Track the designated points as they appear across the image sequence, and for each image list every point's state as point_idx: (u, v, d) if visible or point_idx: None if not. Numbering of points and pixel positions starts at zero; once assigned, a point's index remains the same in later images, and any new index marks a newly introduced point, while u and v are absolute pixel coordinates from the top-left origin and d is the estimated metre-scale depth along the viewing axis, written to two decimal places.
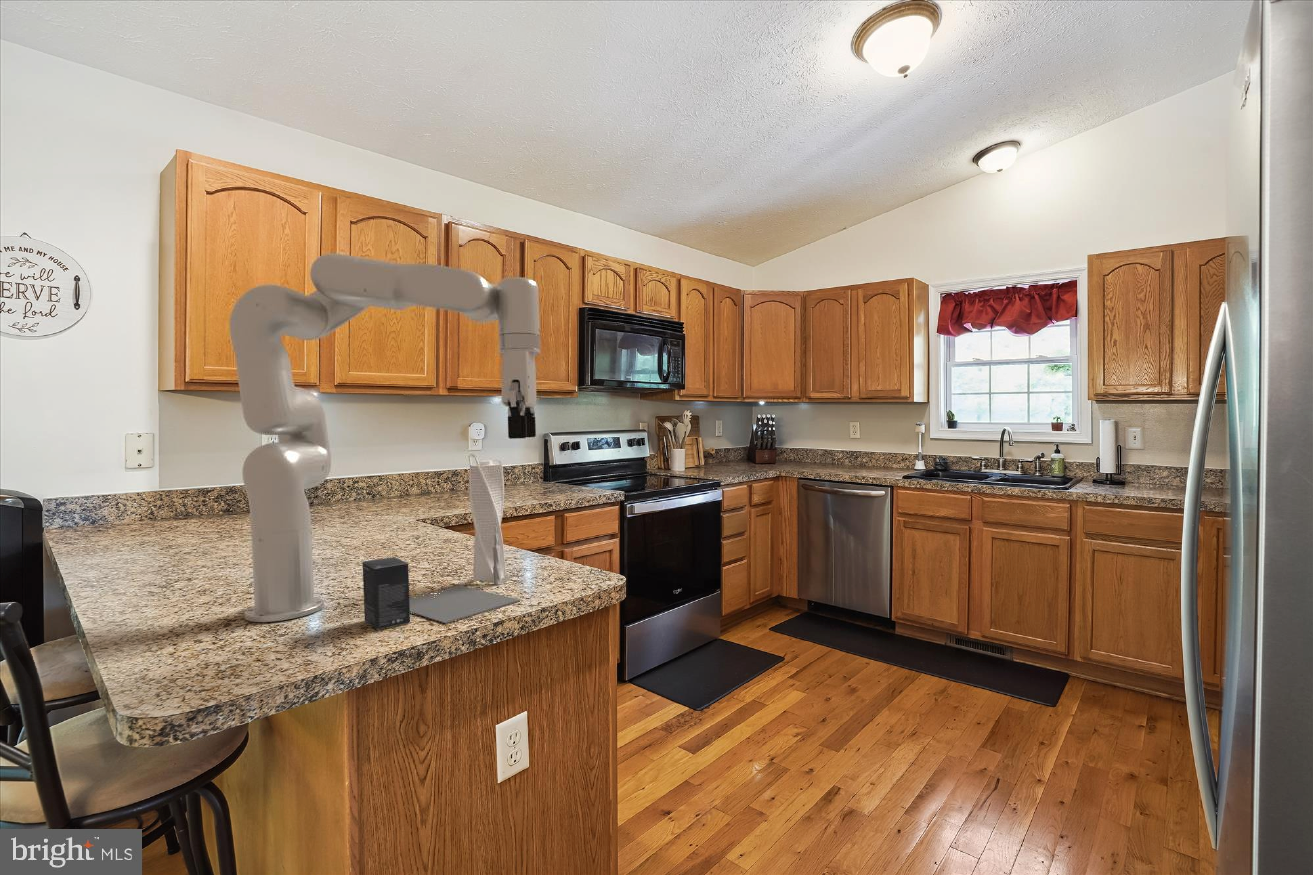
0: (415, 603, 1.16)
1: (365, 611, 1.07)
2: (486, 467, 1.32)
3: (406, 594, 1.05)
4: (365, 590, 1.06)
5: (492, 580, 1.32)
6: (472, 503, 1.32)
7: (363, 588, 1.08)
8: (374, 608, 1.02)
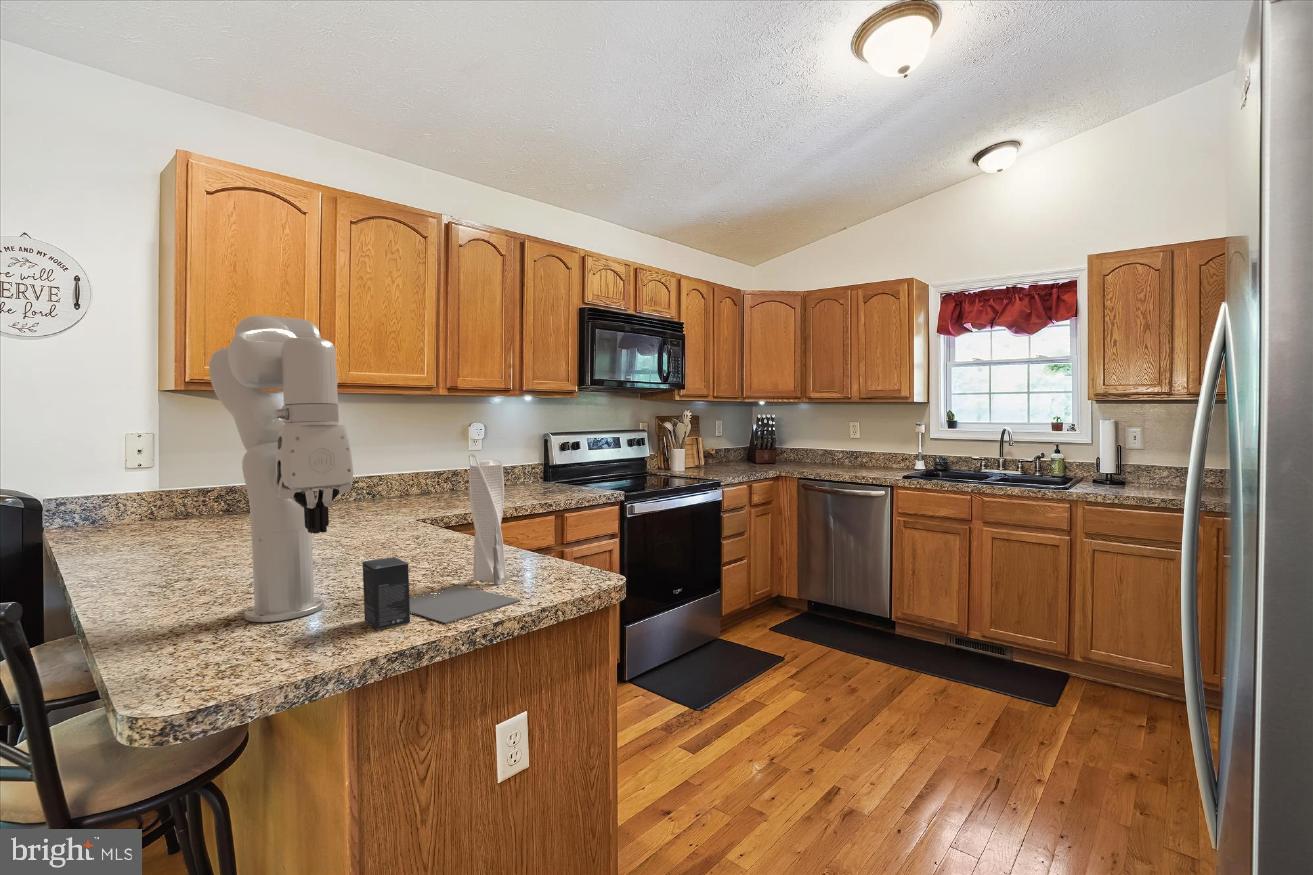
0: (415, 603, 1.16)
1: (365, 611, 1.07)
2: (486, 467, 1.32)
3: (406, 594, 1.05)
4: (365, 590, 1.06)
5: (492, 580, 1.32)
6: (472, 503, 1.32)
7: (363, 587, 1.08)
8: (374, 608, 1.02)
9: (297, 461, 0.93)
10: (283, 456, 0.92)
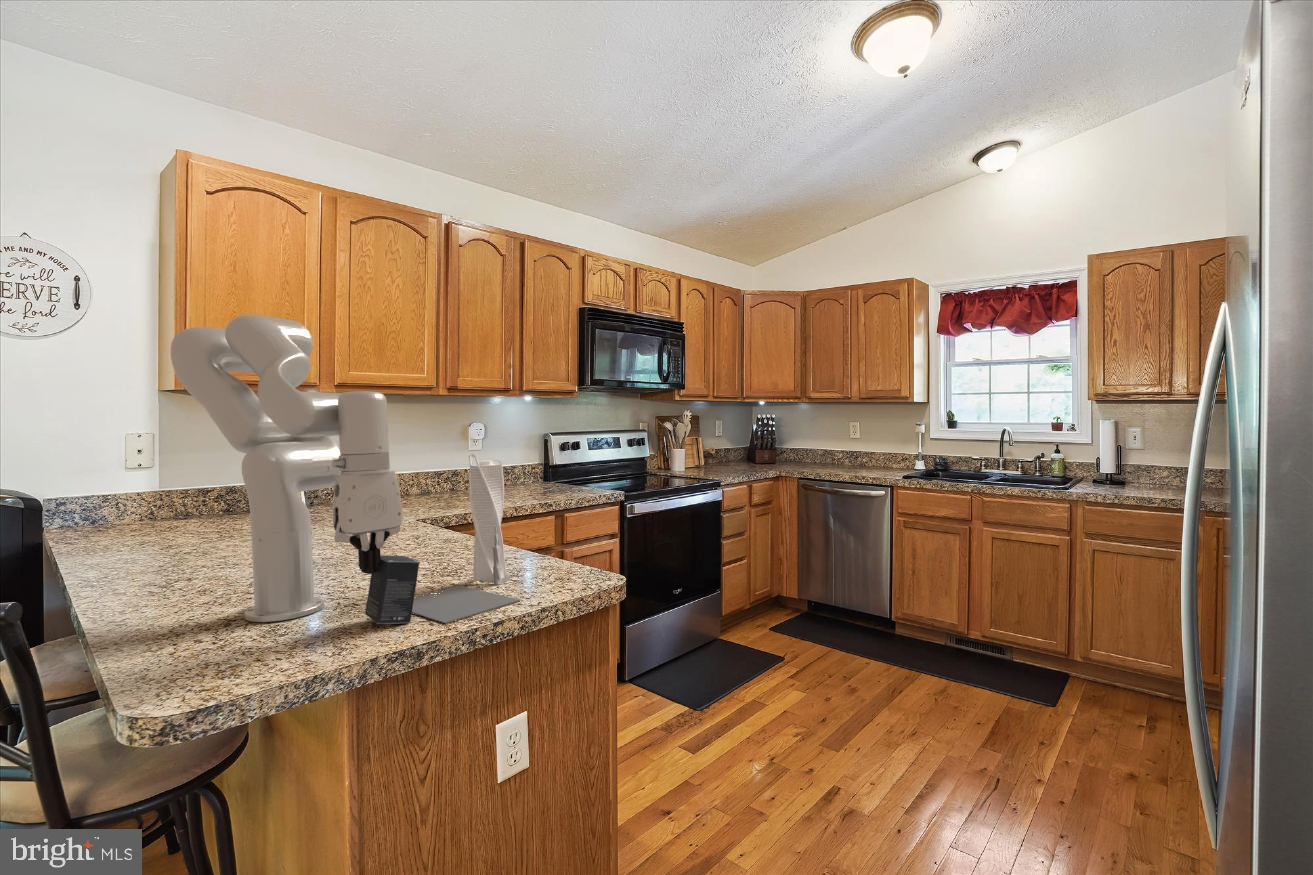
0: (415, 603, 1.16)
1: (367, 605, 1.07)
2: (486, 467, 1.32)
3: (412, 593, 1.05)
4: (372, 583, 1.07)
5: (492, 580, 1.32)
6: (472, 503, 1.32)
7: (370, 582, 1.08)
8: (378, 601, 1.03)
9: (354, 508, 1.00)
10: (341, 504, 0.99)
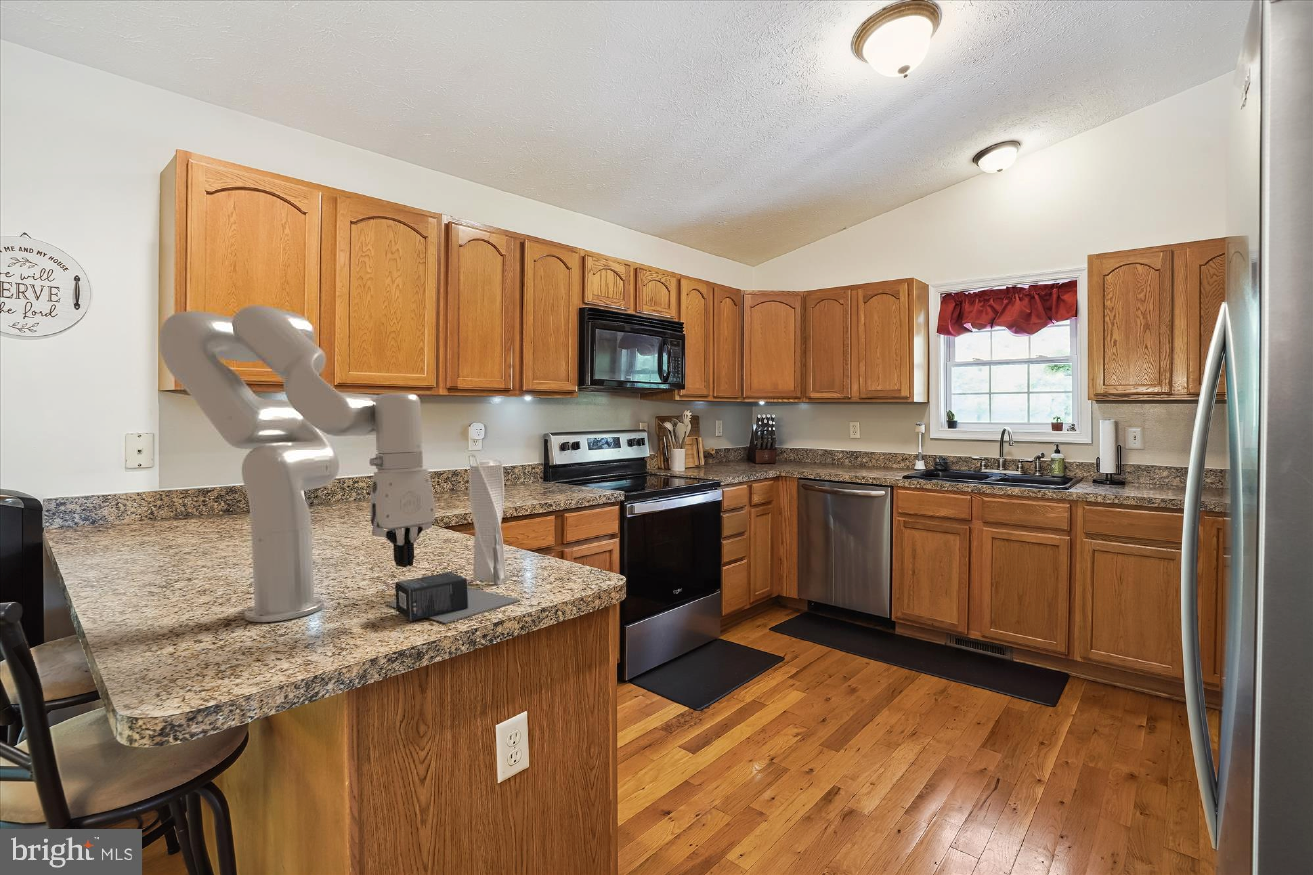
0: None
1: (407, 580, 1.11)
2: (486, 467, 1.32)
3: (439, 611, 1.09)
4: (429, 577, 1.13)
5: (492, 580, 1.32)
6: (472, 503, 1.32)
7: (426, 576, 1.15)
8: (427, 584, 1.08)
9: (391, 504, 1.04)
10: (378, 500, 1.04)
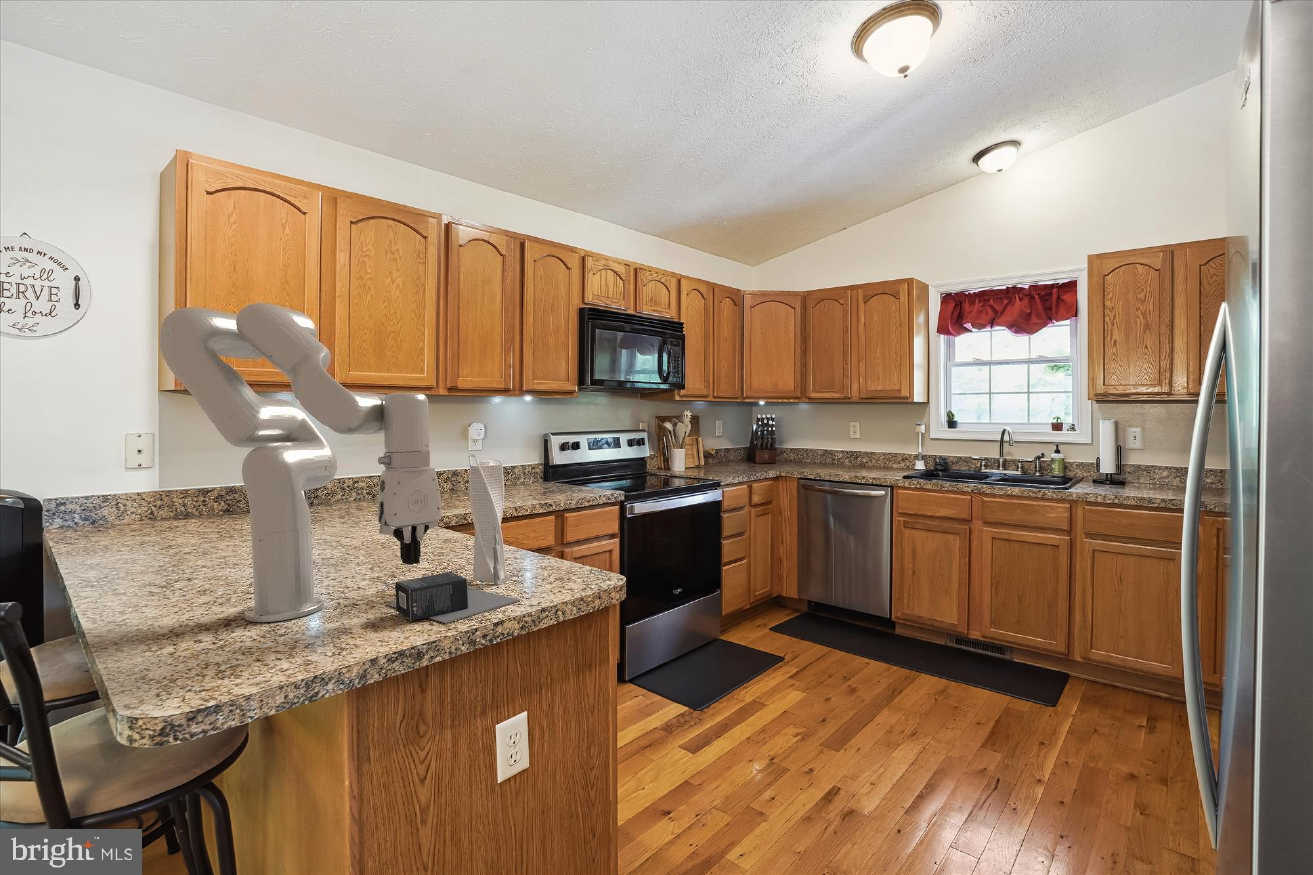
0: None
1: (407, 580, 1.11)
2: (486, 467, 1.32)
3: (439, 611, 1.09)
4: (429, 577, 1.13)
5: (492, 580, 1.32)
6: (472, 503, 1.32)
7: (426, 576, 1.15)
8: (427, 584, 1.08)
9: (398, 502, 1.06)
10: (386, 498, 1.05)
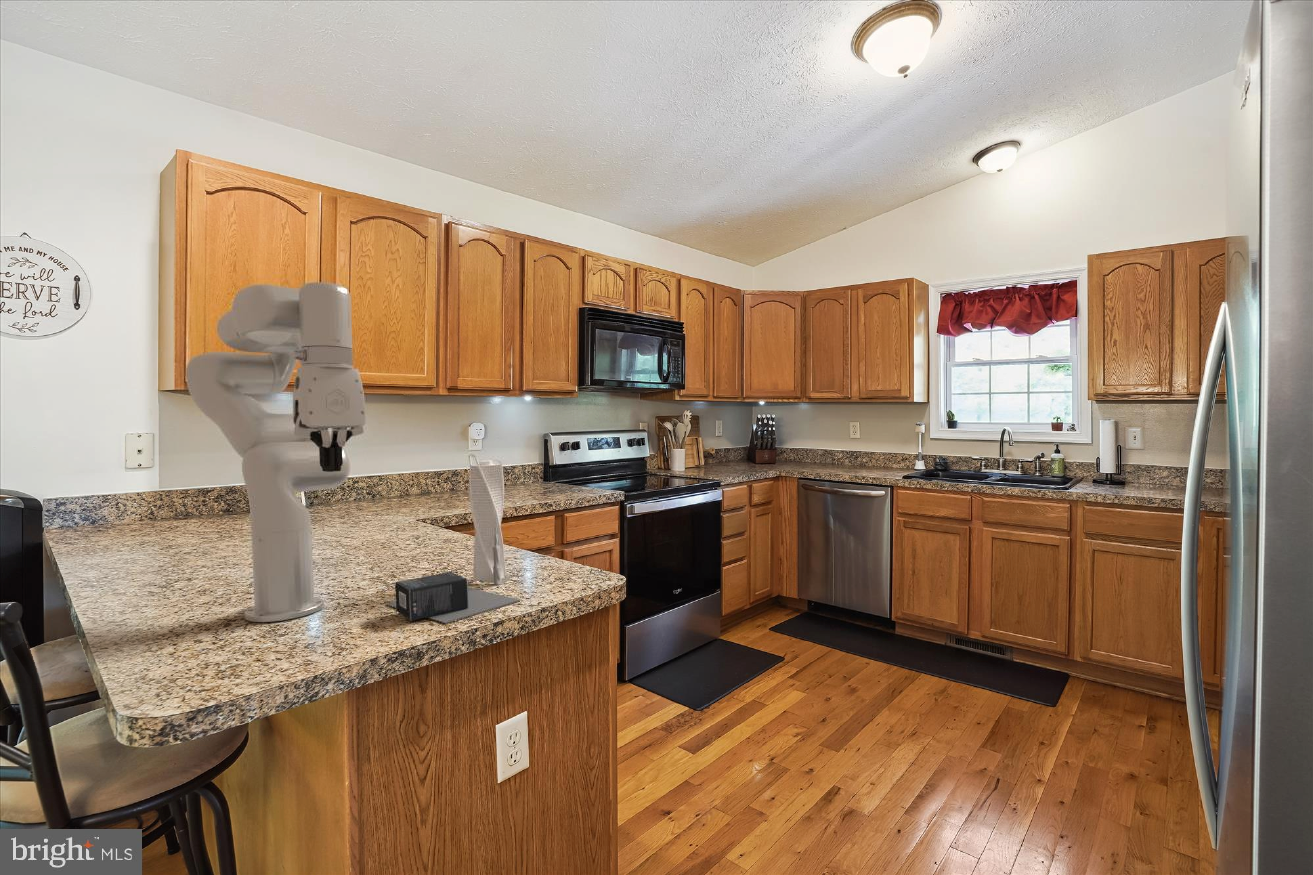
0: None
1: (407, 580, 1.11)
2: (486, 467, 1.32)
3: (439, 611, 1.09)
4: (429, 577, 1.13)
5: (492, 580, 1.32)
6: (472, 503, 1.32)
7: (426, 576, 1.15)
8: (427, 584, 1.08)
9: (315, 400, 0.97)
10: (301, 395, 0.96)
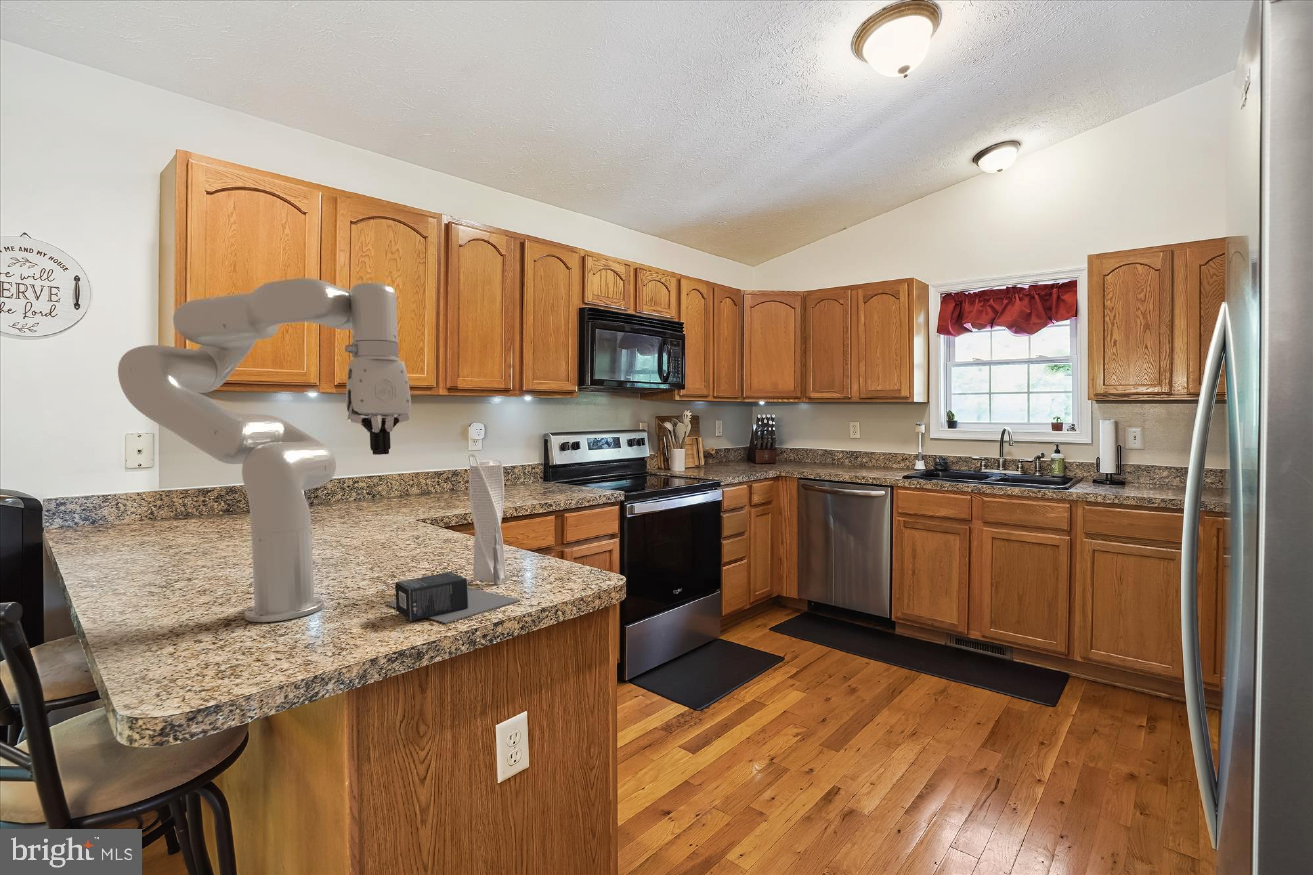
0: None
1: (407, 580, 1.11)
2: (486, 467, 1.32)
3: (439, 611, 1.09)
4: (429, 577, 1.13)
5: (492, 580, 1.32)
6: (472, 503, 1.32)
7: (426, 576, 1.15)
8: (427, 584, 1.08)
9: (365, 389, 1.07)
10: (353, 385, 1.07)
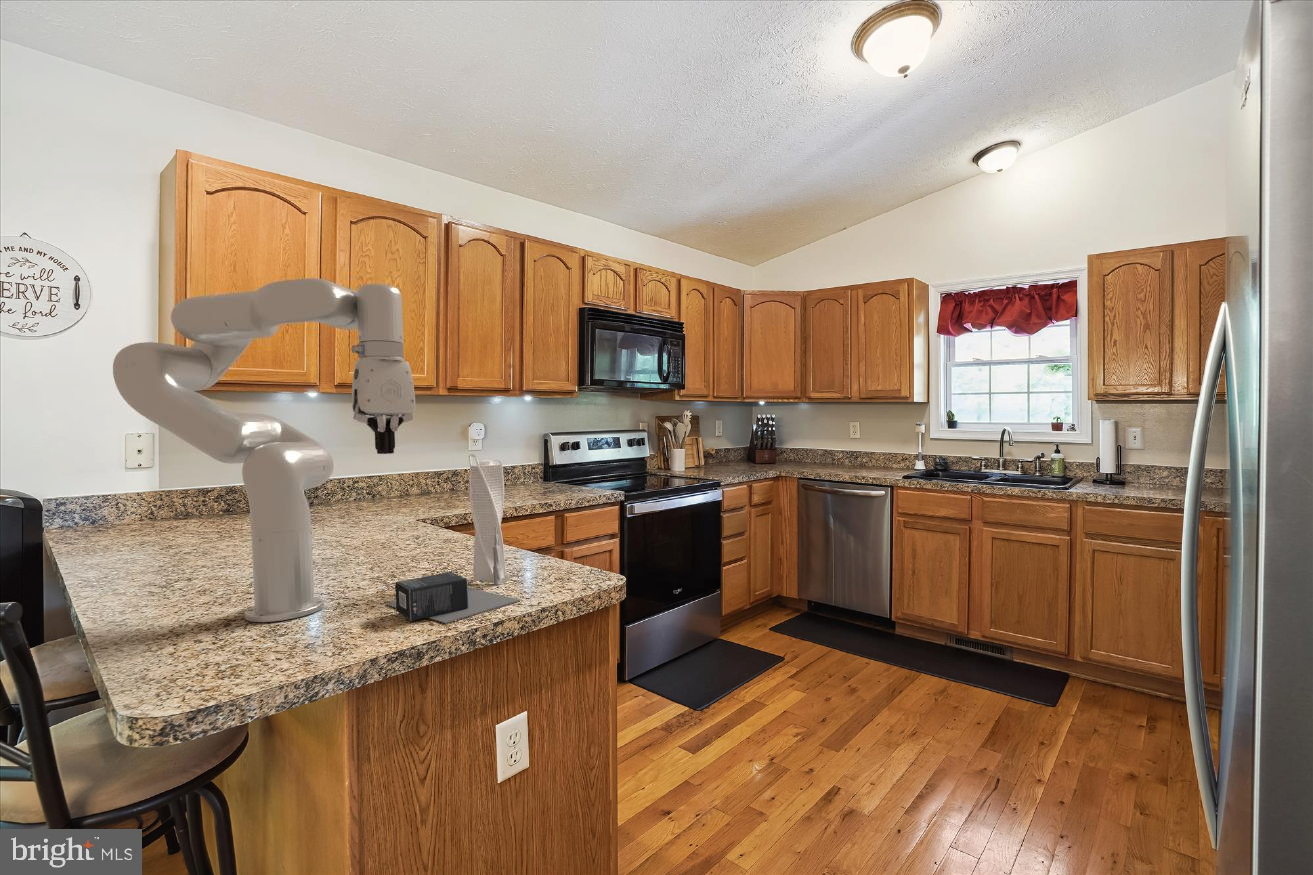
0: None
1: (407, 580, 1.11)
2: (486, 467, 1.32)
3: (439, 611, 1.09)
4: (429, 577, 1.13)
5: (492, 580, 1.32)
6: (472, 503, 1.32)
7: (426, 576, 1.15)
8: (427, 584, 1.08)
9: (372, 389, 1.08)
10: (360, 385, 1.08)
